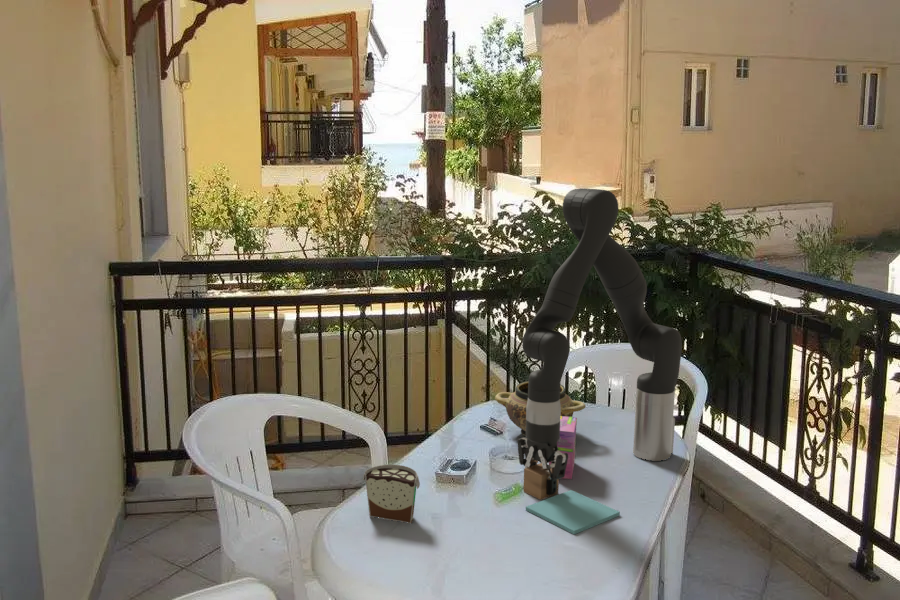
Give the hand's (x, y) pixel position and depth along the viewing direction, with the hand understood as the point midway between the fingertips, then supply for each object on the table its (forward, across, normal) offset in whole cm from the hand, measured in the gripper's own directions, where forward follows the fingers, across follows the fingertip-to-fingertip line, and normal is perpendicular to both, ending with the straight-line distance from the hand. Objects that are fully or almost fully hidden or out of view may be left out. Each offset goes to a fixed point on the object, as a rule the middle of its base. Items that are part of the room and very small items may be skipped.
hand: (540, 489), depth 191 cm
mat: (+1, -12, +2) cm, 12 cm away
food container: (+1, +11, +32) cm, 34 cm away
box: (+1, +6, -13) cm, 14 cm away
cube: (+1, 0, 0) cm, 1 cm away
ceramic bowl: (+1, +27, -26) cm, 38 cm away
